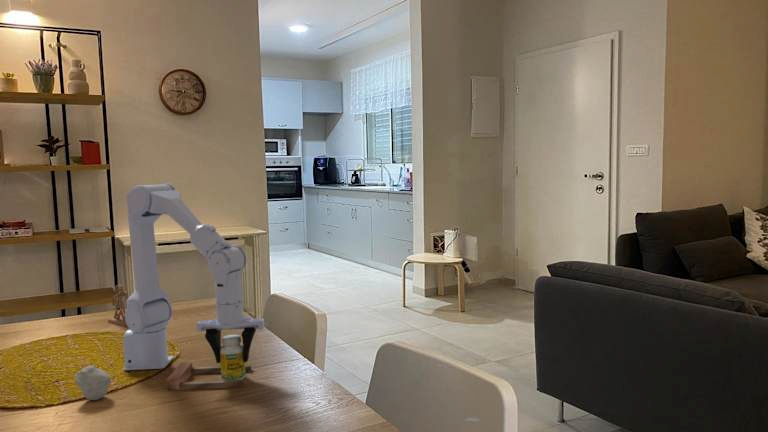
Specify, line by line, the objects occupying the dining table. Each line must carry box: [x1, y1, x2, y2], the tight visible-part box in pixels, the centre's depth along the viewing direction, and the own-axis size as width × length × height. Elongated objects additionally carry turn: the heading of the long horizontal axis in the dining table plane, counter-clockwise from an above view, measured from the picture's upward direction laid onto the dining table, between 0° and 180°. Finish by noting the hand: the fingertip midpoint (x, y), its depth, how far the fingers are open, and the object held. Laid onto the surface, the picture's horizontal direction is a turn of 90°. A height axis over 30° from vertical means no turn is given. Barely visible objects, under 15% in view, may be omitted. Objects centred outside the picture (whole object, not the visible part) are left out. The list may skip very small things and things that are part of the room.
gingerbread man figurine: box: [107, 284, 129, 327], centre depth 178 cm, size 9×4×12 cm, turn 56°
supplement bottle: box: [219, 334, 247, 381], centre depth 129 cm, size 5×5×10 cm
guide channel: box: [166, 361, 252, 391], centre depth 129 cm, size 16×10×2 cm, turn 93°
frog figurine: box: [74, 365, 112, 401], centre depth 120 cm, size 6×7×7 cm
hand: (232, 361), depth 129 cm, fingers closed on supplement bottle, 5 cm apart
